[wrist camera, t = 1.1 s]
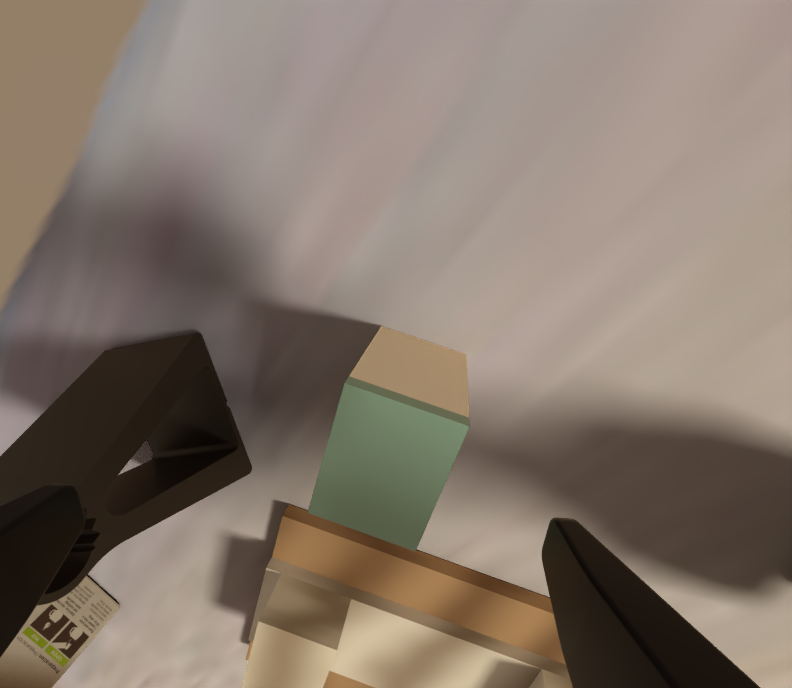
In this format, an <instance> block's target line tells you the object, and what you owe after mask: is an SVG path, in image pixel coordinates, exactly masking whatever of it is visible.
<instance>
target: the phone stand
mask: <svg viewBox="0 0 792 688" xmlns="http://www.w3.org/2000/svg"><path fill="white" fill-rule="evenodd" d="M226 402H227V400H226V397H225V395H224V392H223V389H222V387H221V384H220V381H219V379H218V376H217V373H216V371H215V368H214V366H213V363H212V360H211V358H210V355H209V352H208V350H207V347H206V345H205V342H204V339H203V337H202V335H201V334H200V333H193V334H188V335H183V336H178V337H172V338H167V339H162V340H157V341H152V342H147V343H141V344H136V345H131V346H126V347H121V348H116V349H110V350H106V351H104V352H103V353H102V354H101V355H100V356H99V357H98V358H97V359H96V360H95V361H94V362H93V363H92V364H91V365H90V366H89V367H88V368H87V369H86V370H85V371H84V373H83V374H82V375H81V376H80V377H79V378H78V379H77V380H76V381H75V382H74V383H73V384H72V385H71V386H70V387H69V388H68V389H67V390H66V391H65V392H64V393H63V394H62V395H61V396H60V397H59V398H58V399H57V400H56V401H55V402H54V403H53V404H52V405H51V406H50V407H49V408H48V409H47V410H46V411H45V412H44V413H43V414H42V415H41V416H40V417H39V418H38V419H37V420H36V421H35V422H34V423H33V424H32V425H31V426H30V427H29V428H28V429H27V430H26V431H25V432H24V433H23V434H22V435H21V436H20V437H19V438H18V439H17V440H16V441H15V442H14V443H13V444H12V445H11V446H10V447H9V448H8V449H7V450H6V451H5V452H4V453H3V454H2V455H1V456H0V506H1V505H3V504H5V503H7V502H10V501H12V500H14V499H16V498H18V497H20V496H23V495H25V494H27V493H29V492H31V491H33V490H36V489H38V488H40V487H42V486H44V485H47V484H53V483H54V484H69V485H73V486H74V487H75V488H76V489H77V491H78V494H79V497H80V501H81V504H82V507H83V511H84V514H85V524H84V527H83V530H82V532H81V534H80V535H79V537H78V539H77V540H76V542H75V544H74V545H73V547H72V549H71V550H70V552H69V554H68V555H67V557H66V558H65V560H64V562H63V563H62V565H61V567H60V568H59V570H58V572H57V573H56V575H55V577H54V578H53V580H52V582H51V583H50V585H49V587H48V588H47V590H46V591H45V593H44V595H43V596H42V598H41V600H40V601H39V603H38V604H37V605H44V604H48V603H51V602H54V601H56V600H59V599H60V598H62V597H64V596H66V595H67V594H68V593H70V592H71V591H72V590H73V589H75V588H76V587H77V586H78V585H79V584H80V583H81V582H82V580H83V579H84V578H85V577H86V575H87V574H88V573H89V572H90V570H91V569H92V568H93V567H94V566H95V565H96V564H97V562H98V561H99V560H100V559H101V558H102V557H103V556H105V555H106V554H107V553H108V552H109V551H110V550H112V549H113V548H114V547H116V546H117V545H119V544H120V543H122V542H124V541H125V540H127V539H129V538H131V537H133V536H135V535H137V534H138V533H140V532H142V531H144V530H146V529H148V528H150V527H151V526H153V525H155V524H157V523H159V522H161V521H163V520H164V519H166V518H168V517H170V516H172V515H174V514H176V513H177V512H179V511H181V510H183V509H185V508H187V507H189V506H191V505H192V504H194V503H196V502H198V501H200V500H202V499H204V498H205V497H207V496H209V495H211V494H213V493H215V492H217V491H218V490H220V489H222V488H224V487H226V486H228V485H230V484H231V483H233V482H235V481H237V480H239V479H241V478H243V477H244V476H246V475H248V474H250V472H251V470H252V466H251V463H250V460H249V458H248V455H247V452H246V450H245V447H244V444H243V442H242V439H241V437H240V434H239V431H238V429H237V426H236V423H235V421H234V418H233V416H232V413H231V410H230V408H229V407H227V406H226ZM146 439H147V441H148V443H149V445H150V447H151V450H152V452H153V457H152V459H151V460H150V461H148V462H146V463H144V464H142V465H140V466H137V467H135V468H133V469H131V470H129V471H127V472H124V473H122V474H120V475H118V474H119V473H120V471H121V470H122V469H123V468H124V466H125V465H126V464H127V463H128V461H129V460H130V459H131V458H132V457H133V455H134V454H135V453H136V452H137V450H138V449H139V448H140V447H141V445H142V444H143V443H144V442H145V440H146ZM117 475H118V476H117Z"/></svg>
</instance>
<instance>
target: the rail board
mask: <svg viewBox="0 0 792 688" xmlns="http://www.w3.org/2000/svg"><path fill="white" fill-rule="evenodd" d="M248 640H249V641H250V644H249V648H248V652H247V656H246V660H248V664H247V667H246V671H245V675H244V679H243V683H242V687H241V688H573V686H572V683H571V680H570V677H569V674H568V670H567V667H566V664H565V660H564V657H563V653H562V650H561V645H560V641H559V637H558V632H557V628H556V623H555V618H554V614H553V609H552V604H551V600H550V598H548V597H545V596H543V595H540V594H537V593H534V592H532V591H529V590H526V589H523V588H520V587H518V586H515V585H512V584H509V583H507V582H504V581H501V580H498V579H495V578H493V577H490V576H487V575H484V574H482V573H479V572H476V571H473V570H470V569H468V568H465V567H462V566H459V565H457V564H454V563H451V562H448V561H445V560H443V559H440V558H437V557H434V556H432V555H429V554H426V553H423V552H420V551H418V550H416V551H412V550H409V549H407V548H404V547H401V546H398V545H396V544H393V543H390V542H387V541H385V540H382V539H379V538H376V537H373V536H371V535H368V534H365V533H362V532H360V531H357V530H354V529H351V528H348V527H346V526H343V525H340V524H337V523H335V522H332V521H329V520H326V519H323V518H321V517H318V516H315V515H312V514H310V513H308V511H307V510H304V509H301V508H298V507H295V506H293V505H290V504H289V505H288V507H287V509H286V510H285V512H284V514H283V516H282V520H281V523H280V527H279V531H278V535H277V539H276V543H275V547H274V551H273V555H272V558H271V560H270V562H269V563H268V565H267V567H266V570H265V574H264V578H263V582H262V586H261V590H260V594H259V598H258V602H257V606H256V610H255V614H254V618H253V622H252V626H251V630H250V634H249V638H248Z"/></svg>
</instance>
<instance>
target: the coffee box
mask: <svg viewBox="0 0 792 688" xmlns="http://www.w3.org/2000/svg"><path fill="white" fill-rule="evenodd" d="M119 608H120V606H119V604H118V603H116V602H115V601H114V600H113V599H112V598H111V597H110V596H109V595H107V594H106V593H105V592H104V591H103V590H102V589H101V588H100V587H99V586H98V585H96V584H95V583H94V582H93V581H92V580H91V579H90V578H89V577H88V576H87V575H86V577H85V578H84V579H83V580H82V582H81V583H80V584H79V585H78V586H77V587H76V588H75V589H73V590H72V591H71V592H70V593H68V594H67V595H66V596H64V597H62V598H60V599H59V600H56V601H54V602H51V603H48V604H44V605H37V606H36V608H35V609H34V611H33V612H32V614H31V615H30V617H29V618H28V620H27V621H26V623H25V624H24V626H23V627H22V629H21V630H20V631H19V633H18V634H17V636H16V637H15V638H14V640H13V641H12V643H11V644H10V645H9V647H8V648H7V649H6V651H5V652H4V654H3V655H2V656H1V658H0V688H52V687H53V686H54V684H55V683H56V682H57V681H58V680H59V679H60V677H61V676H62V675H63V674H64V673H65V671H66V670H67V669H68V668H69V667H70V666H71V664H72V663H73V662H74V661H75V660H76V658H77V657H78V656H79V655H80V654H81V653H82V651H83V650H84V649H85V648H86V647H87V645H88V644H89V643H90V642H91V641H92V640H93V638H94V637H95V636H96V635H97V634H98V633H99V632H100V630H101V629H102V628H103V627H104V626H105V625H106V623H107V622H108V621H109V620H110V619H111V618H112V616H113V615H114V614H115V613H116V612H117V611H118V609H119Z"/></svg>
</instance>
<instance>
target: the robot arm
mask: <svg viewBox="0 0 792 688" xmlns="http://www.w3.org/2000/svg"><path fill="white" fill-rule="evenodd" d="M84 524H85V514H84V511H83V507H82V504H81V501H80V497H79V494H78V491H77V489H76V488H75V487H74V486H73V485H69V484H54V483H53V484H47V485H44V486H42V487H40V488H38V489H36V490H33V491H31V492H29V493H27V494H25V495H23V496H20V497H18V498H16V499H14V500H12V501H10V502H7V503H5V504H3V505H1V506H0V658H1V656H2V655H3V654H4V652H5V651H6V649H7V648H8V647H9V645H10V644H11V643H12V641H13V640H14V638H15V637H16V636H17V634H18V633H19V631H20V630H21V629H22V627H23V626H24V624H25V623H26V621H27V620H28V618H29V617H30V615H31V614H32V612H33V611H34V609H35V608H36V606H37V604H38V603H39V601H40V600H41V598H42V596H43V595H44V593H45V591H46V590H47V588H48V587H49V585H50V583H51V582H52V580H53V578H54V577H55V575H56V573H57V572H58V570H59V568H60V567H61V565H62V563H63V562H64V560H65V558H66V557H67V555H68V554H69V552H70V550H71V549H72V547H73V545H74V544H75V542H76V540H77V539H78V537H79V535H80V534H81V532H82V530H83V527H84ZM542 562H543V567H544V571H545V576H546V581H547V585H548V590H549V595H550V600H551V604H552V609H553V614H554V618H555V623H556V628H557V632H558V637H559V641H560V645H561V650H562V653H563V657H564V660H565V664H566V667H567V670H568V674H569V677H570V680H571V683H572V686H573V688H760V687H759V686H758V685H757V684H756V683H755V682H754V681H752V680H751V679H750V678H749V677H748V676H747V675H746V674H745V673H744V672H743V671H741V670H740V669H739V668H738V667H737V666H736V665H735V664H734V663H733V662H732V661H730V660H729V659H728V658H727V657H726V656H725V655H724V654H723V653H722V652H721V651H719V650H718V649H717V648H716V647H715V646H714V645H713V644H712V643H711V642H710V641H708V640H707V639H706V638H705V637H704V636H703V635H702V634H701V633H700V632H699V631H697V630H696V629H695V628H694V627H693V626H692V625H691V624H690V623H689V622H688V621H686V620H685V619H684V618H683V617H682V616H681V615H680V614H679V613H678V612H677V611H675V610H674V609H673V608H672V607H671V606H670V605H669V604H668V603H667V602H666V601H664V600H663V599H662V598H661V597H660V596H659V595H658V594H657V593H656V592H655V591H653V590H652V589H651V588H650V587H649V586H648V585H647V584H646V583H645V582H644V581H642V580H641V579H640V578H639V577H638V576H637V575H636V574H635V573H634V572H633V571H631V570H630V569H629V568H628V567H627V566H626V565H625V564H624V563H623V562H622V561H620V560H619V559H618V558H617V557H616V556H615V555H614V554H613V553H612V552H611V551H609V550H608V549H607V548H606V547H605V546H604V545H603V544H602V543H601V542H600V541H598V540H597V539H596V538H595V537H594V536H593V535H592V534H591V533H590V532H589V531H587V530H586V529H585V528H584V527H583V526H582V525H581V524H580V523H579V522H577V521H576V520H574V519H569V518H553V519H552V520H551V521H550V523H549V527H548V530H547V534H546V537H545V540H544V544H543V548H542Z"/></svg>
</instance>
